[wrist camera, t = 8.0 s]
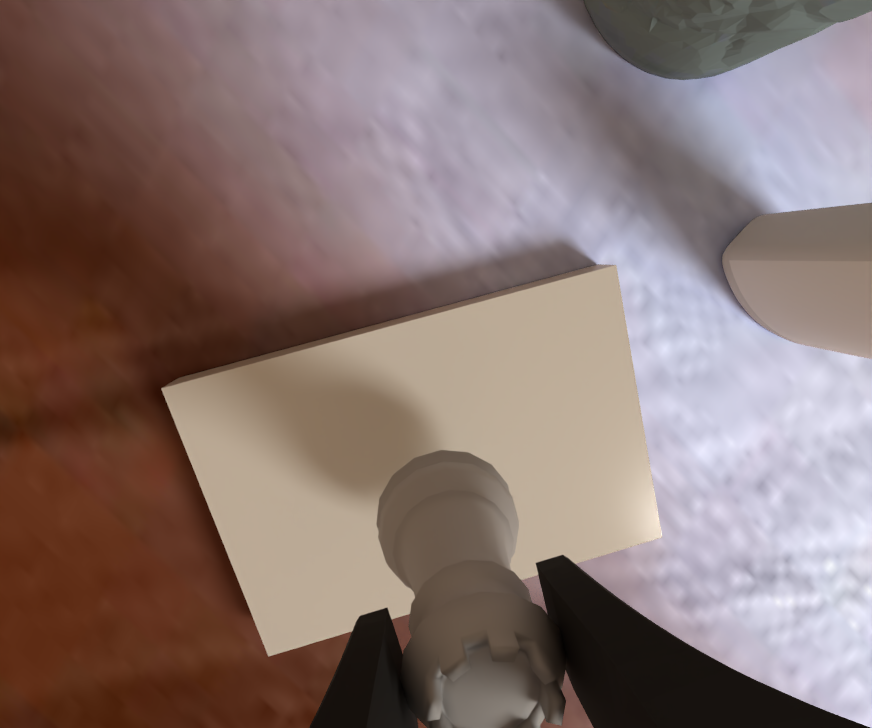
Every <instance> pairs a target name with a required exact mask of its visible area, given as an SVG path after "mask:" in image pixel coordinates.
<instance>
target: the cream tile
mask: <svg viewBox="0 0 872 728" xmlns="http://www.w3.org/2000/svg"><path fill="white" fill-rule="evenodd" d="M161 390H162V392H163V395H164V397H165V400H166V402H167V404H168V407H169V409H170V412H171V414H172V417H173V419H174V422H175V424H176V427H177V429H178V432H179V434H180V437H181V439H182V442H183V444H184V447H185V449H186V452H187V454H188V457H189V459H190V462H191V464H192V467H193V469H194V472H195V474H196V477H197V479H198V482H199V484H200V487H201V489H202V492H203V494H204V497H205V499H206V502H207V504H208V507H209V509H210V512H211V514H212V517H213V519H214V522H215V524H216V527H217V529H218V532H219V534H220V537H221V539H222V542H223V544H224V547H225V549H226V552H227V554H228V557H229V559H230V562H231V564H232V567H233V569H234V572H235V574H236V577H237V579H238V582H239V584H240V586H241V589H242V591H243V594H244V596H245V599H246V601H247V604H248V606H249V609H250V611H251V614H252V616H253V619H254V621H255V624H256V626H257V629H258V631H259V634H260V636H261V639H262V641H263V644H264V646H265V649H266V651H267V654H268V656H272V655H275V654H278V653H282V652H285V651H288V650H291V649H295V648H298V647H301V646H305V645H308V644H311V643H315V642H318V641H321V640H325V639H328V638H331V637H334V636H338V635H341V634H344V633H348V632H351V631H353V628H354V626H355V623H356V621H357V619H358V618H359V616H361V615H364V614H367V613H371V612H374V611H377V610H380V609H384V608H387V607H388V611H389V614H390V617H391V619H394V618H397V617H401V616H404V615H407V614H410V611H411V604H412V602H413V600H414V598H415V595H414V592H413V591H412V590H411V589H410V588H408V587H406V586H405V585H404V584H403V582H402V581H401V580H400V579H399V578H398V577H397V576H396V575H395V574H394V572H393V571H392V570H391V569H390V568H389V567H388V565H387V563H386V561H385V558H384V555H383V551H382V548H381V545H380V542H379V539H378V533H379V531H378V528H377V525H376V523H377V514H378V505H379V498H380V496H381V494H382V493H383V491H384V489H385V487H386V486H387V484H388V482H389V480H390V479H391V477H392V475H393V474H394V473H396V472H397V471H398V470H399V469H401V468H402V467H403V466H405V465H406V464H407V463H408V462H410V461H411V460H412V459H413V458H415V457H419V456H422V455H425V454H429V453H432V452H435V451H439V450H449V451H460V452H469V453H471V454H473V455H475V456H476V457H478V458H480V459H482V460H484V461H486V462H488V463H490V464H492V466H493V467H494V468H495V469H496V470H497V472H498V473H499V474H500V475H501V477H502V478H503V479H504V480H505V482H506V483H507V484H508V487H509V491H510V494H511V495H512V497H513V501H514V505H515V508H516V512H517V516H518V520H519V529H518V536H517V542H516V549H515V553H514V555H513V557H512V558H511V563H510V567H511V571H513V572H515V574H516V575H517V576H518V577H519V578H520V580H523V579H526V578H530V577H533V576H536V575H538V571H537V567H536V563H537V562H540V561H543V560H547V559H550V558H553V557H557V556H560V555H564V556H566V557H567V558H569V559H570V560H571V561H572V562H574V563H575V564H576V563H579V562H582V561H586V560H589V559H592V558H596V557H599V556H602V555H606V554H609V553H612V552H615V551H619V550H622V549H625V548H629V547H632V546H635V545H639V544H642V543H645V542H649V541H652V540H655V539H658V538H662V534H661V528H660V522H659V516H658V510H657V504H656V498H655V492H654V487H653V481H652V475H651V469H650V463H649V457H648V451H647V445H646V439H645V433H644V427H643V421H642V415H641V410H640V404H639V398H638V392H637V386H636V380H635V374H634V368H633V362H632V356H631V350H630V344H629V338H628V333H627V327H626V321H625V315H624V309H623V303H622V297H621V291H620V285H619V279H618V273H617V267H616V265H601V264H598V265H594V266H590V267H586V268H583V269H579V270H575V271H572V272H568V273H564V274H561V275H557V276H553V277H549V278H546V279H542V280H538V281H535V282H531V283H527V284H524V285H520V286H516V287H513V288H509V289H505V290H501V291H498V292H494V293H490V294H487V295H483V296H479V297H476V298H472V299H468V300H465V301H461V302H457V303H453V304H450V305H446V306H442V307H439V308H435V309H431V310H428V311H424V312H420V313H417V314H413V315H409V316H405V317H402V318H398V319H394V320H391V321H387V322H383V323H380V324H376V325H372V326H368V327H365V328H361V329H357V330H354V331H350V332H346V333H343V334H339V335H335V336H332V337H328V338H324V339H320V340H317V341H313V342H309V343H306V344H302V345H298V346H295V347H291V348H287V349H284V350H280V351H276V352H272V353H269V354H265V355H261V356H258V357H254V358H250V359H247V360H243V361H239V362H236V363H232V364H228V365H224V366H221V367H217V368H213V369H210V370H206V371H202V372H199V373H195V374H191V375H188V376H184V377H180V378H178V379H176V380H174V381H173V382H171V383H169V384H168V385H166V386H164V387H163V388H161Z"/></svg>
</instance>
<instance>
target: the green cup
mask: <svg viewBox="0 0 872 728" xmlns="http://www.w3.org/2000/svg"><path fill="white" fill-rule="evenodd" d="M584 3H585V6H586V8H587V10H588V12H589V14H590V16H591V18H592V20H593V22H594V24H595V26H596V28H597V29H598V31H599V32H600V33H601V35H602V36H603V38H604V39H605V40H606V42H607V43H608V44H609V45H610V46H611V47H612V48H613V49H614V50H615V51H616V52H617V53H618V54H619V55H620V56H621V57H622V58H624V59H625V60H627V61H628V62H630V63H631V64H633V65H634V66H635V67H637V68H639V69H641V70H643V71H645V72H647V73H650V74H653V75H657V76H660V77H664V78H669V79H679V80H686V79H699V78H706V77H712V76H716V75H719V74H722V73H724V72H727V71H730V70H733V69H735V68H738V67H740V66H743V65H745V64H748V63H750V62H752V61H754V60H756V59H758V58H761V57H763V56H765V55H767V54H769V53H771V52H774V51H776V50H778V49H780V48H782V47H785V46H787V45H790V44H792V43H795V42H797V41H800V40H802V39H804V38H807V37H809V36H812V35H814V34H816V33H818V32H820V31H822V30H823V29H825V28H827V27H829V26H831V25H833V24H835V23H837V22H843V21H847V20H850V19H853V18H856V17H858V16H861V15H863V14H866V13H868V12H871V11H872V0H584Z"/></svg>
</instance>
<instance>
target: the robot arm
mask: <svg viewBox="0 0 872 728" xmlns="http://www.w3.org/2000/svg"><path fill="white" fill-rule="evenodd" d="M536 567H537V571H538V575H539V579H540V584H541V588H542V592H543V596H544V600H545V605H546V609H547V613H548V616H549V617H550V618H551V619H552V621H553V622H554V623H555V624H556V625H557V626H558V628H559V629H560V633H561V636H562V640H563V644H564V648H565V652H566V656H567V663H566V672H567V674H568V676H569V679H570V681H571V684H572V686H573V689H574V691H575V693H576V695H577V697H578V698H579V700H580V702H581V704H582V706H583V708H584V710H585V712H586V714H587V716H588V718H589V720H590V721H591V723H592V725H593V727H594V728H870V727H867V726H864V725H862V724H859V723H856V722H854V721H851V720H848V719H846V718H843V717H841V716H838V715H835V714H833V713H830V712H827V711H825V710H823V709H820V708H818V707H815V706H813V705H810V704H808V703H805V702H803V701H801V700H799V699H796V698H794V697H792V696H790V695H788V694H785V693H783V692H781V691H779V690H776V689H774V688H772V687H770V686H767V685H765V684H763V683H761V682H758V681H756V680H754V679H752V678H750V677H748V676H746V675H744V674H742V673H740V672H738V671H736V670H734V669H732V668H730V667H728V666H726V665H724V664H722V663H721V662H719V661H717V660H715V659H713V658H711V657H709V656H708V655H706V654H704V653H702V652H701V651H699V650H697V649H695V648H694V647H692V646H690V645H689V644H687V643H685V642H683V641H682V640H680V639H679V638H677V637H675V636H674V635H672V634H671V633H669V632H667V631H666V630H664V629H663V628H661V627H660V626H658V625H656V624H655V623H653V622H652V621H650V620H649V619H647V618H646V617H644V616H643V615H641V614H640V613H639V612H637V611H636V610H634V609H633V608H632V607H630V606H629V605H627V604H626V603H625V602H623V601H622V600H620V599H619V598H618V597H616V596H615V595H614V594H612V593H611V592H610V591H608V590H607V589H606V588H604V587H603V586H602V585H600V584H599V583H598V582H597V581H595V580H594V579H593V578H592V577H590V576H589V575H588V574H587V573H585V572H584V571H583V570H582V569H581V568H579V567H578V566H577V565H576V564H575V563H574V562H572V561H571V560H570V559H569V558H567V557H566V556H564V555H560V556H557V557H553V558H550V559H547V560H543V561H540V562H537V563H536ZM402 660H403V654H402V651H401V647H400V644H399V641H398V638H397V635H396V632H395V629H394V626H393V623H392V620H391V617H390V614H389V611H388V607H387V608H384V609H380V610H377V611H374V612H371V613H367V614H364V615H361V616H359V618H358V619H357V621H356V623H355V626H354V628H353V631H352V633H351V636H350V638H349V641H348V643H347V646H346V648H345V651H344V653H343V656H342V658H341V660H340V663H339V665H338V667H337V670H336V672H335V674H334V677H333V679H332V681H331V683H330V685H329V688H328V690H327V692H326V694H325V696H324V699H323V701H322V703H321V705H320V707H319V709H318V711H317V713H316V715H315V717H314V719H313V721H312V723H311V725H310V727H309V728H418V722H417V717H416V716H415V715H414V714H413V713H412V711H411V710H410V709H409V706H408V703H407V700H406V697H405V694H404V691H403V687H402V684H401V681H400V676H401V668H402Z"/></svg>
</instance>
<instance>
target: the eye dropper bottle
mask: <svg viewBox="0 0 872 728" xmlns="http://www.w3.org/2000/svg"><path fill="white" fill-rule="evenodd" d="M722 264H723V269H724V272H725V275H726V278H727V280H728V283H729V285H730V287H731V289H732V291H733V293H734V295H735V297H736V298H737V300H738V301H739V303H740V304H741V306H742V307H743V308H744V309H745V311H746V312H747V313H748V314H749V315H750V316H751V317H752V318H753V319H754V320H755V321H756V322H758V323H759V324H760V325H761V326H763V327H764V328H766V329H767V330H769V331H770V332H772V333H774V334H776V335H778V336H780V337H782V338H784V339H786V340H789V341H791V342H794V343H798V344H801V345H806V346H810V347H815V348H820V349H825V350H830V351H834V352H839V353H844V354H849V355H854V356H859V357H864V358H869V359H872V203H865V204H855V205H846V206H837V207H828V208H819V209H810V210H801V211H792V212H783V213H774V214H765V215H760V216H758V217H756V218H755V219H753V220H752V221H751V222H750V223H749V224H748V225H747V226H746V227H745V228H744V229H743V230H742V231H741V232H740V233H739V234H738V235H737V236H736V238H735V239H734V240H733V241H732V242H731V243H730V244H729V245H728V247H727V248H726V250H725V252H724V253H723V255H722Z"/></svg>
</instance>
